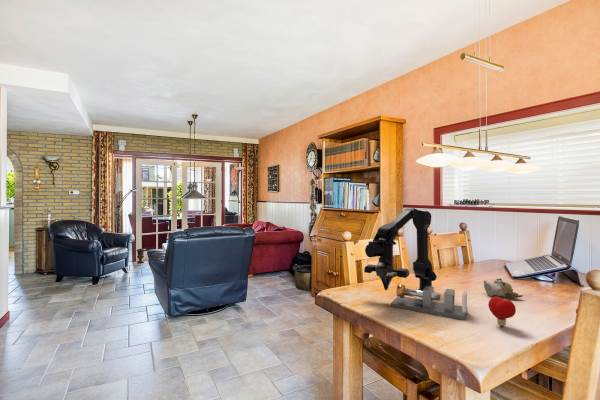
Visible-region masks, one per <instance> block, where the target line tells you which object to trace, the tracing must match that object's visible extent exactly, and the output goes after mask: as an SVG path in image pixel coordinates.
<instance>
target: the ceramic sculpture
mask: <svg viewBox="0 0 600 400" xmlns="http://www.w3.org/2000/svg"><path fill="white" fill-rule="evenodd" d="M483 288H484V290H485V293H486V295H487V296H489V297H494V296H496V297H500V298H510V299H518V298H521V297H523V296H524V295H522V294H519V293H517V292H515V291H514V289H513V287H512V285H511V284H510V283H509V282H508V281H504V280H503V279H502V278H496V279H495V280H493V281H491V282H490V281H487V280H485V279H484V280H483Z"/></svg>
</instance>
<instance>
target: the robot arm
mask: <svg viewBox="0 0 600 400" xmlns="http://www.w3.org/2000/svg"><path fill="white" fill-rule="evenodd" d="M411 220H412V223H413V225H414V227H415V229H416V254H417V255H416V260H415V261H413V262H412V266H413V267H412V270H413V273H414V276H415V277H414V278H416V279H419V280H418V281H419V283H418V284H419V287H418V289H417V290H420V291H423V289H424V288H425V287H426V286H431V287H433V284H432V283H433V282H435V281H436V280H437V273H435V271H434V269H433V263H432V262H431V261H430V259H429V244H428V242H429V239H428V234H429V233H428V228H429V227H430V226H431V223H432V214H431V213H430V211H427V210H420V209H417V208H413V207H407V208H405V209H404V210H403V211H402V212H401V213H400V214H399V215H398V216H397V217H395V218H394V219H393V220H392V221H391V222H389V223H386V224H383V225H381V226H380V227H379V228H378V229H377V232H376V234H375V236H374V238H373V239H372V240H371V241H368V244H367V245H366V246H365V248H364V251H365V255H366V256H367V257H368V258H370V259H371V258H377V257H378V262H377V263H376V264H370V263H369V264H367V265H365V267H364V269H363V270H364V271H363V272H364V273H366V274H371V273H372V272H375V273H376V274H375V275H376V276H377V277H379V278H380V280H381V283H382V285H383V288H384V290H385V291H388V290H389V287H390V284H391V281H392V279H393V278H395V277H396V276H397V277H398V278H403V279H407V278H408V277H409V276H410V270H409V269H408V268H401V267H400V268H398V269H394V245H397V242H396V241H395V239H396V238H397V236H398V234H399V231H400V230H401V229H402V228H403V227H404V226H405V225H406V224H407V223H409V221H411Z"/></svg>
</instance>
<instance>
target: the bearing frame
mask: <svg viewBox="0 0 600 400" xmlns="http://www.w3.org/2000/svg"><path fill="white" fill-rule="evenodd" d="M432 292H433V293H435V287H434V286H432V287H431V286H426V287H425V288H424V289H423V298H416V297H410V296H405V297H404V298H399V297H397V296H396V298H394V299H393V301H391V302H390V307H392V308H396V309H401V310H402V309H403V310H407V311H411V312H412V311H413V312H417V313H423V314H428V315H433V316H434V315H436V316H441V317H444V318H449V319H456V320H460V321H461V320H462V321H465V319H466V316H467V313H468V303H467V302H468V291H466V290H464V291H463V293H462V295H461V297H462V299H461V301H462V302H461V303H462V304H461V305H458V304H455V302H456V301H455V298H456V295H455V289H451V288H446V289H445V291H444V293H443V302H441V301H435V300H431V293H432Z"/></svg>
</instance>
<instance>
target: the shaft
mask: <svg viewBox="0 0 600 400" xmlns="http://www.w3.org/2000/svg"><path fill="white" fill-rule="evenodd" d="M395 291H396V298H397V297H399V298H404V297H411V298H417V299H423V291H420V290H418V289H412V288H407V287H406V285H405V284H400V283H399V284H397V286H396V290H395ZM441 298H442V294H441V293H439V292H434V293H433V292H432V293H431V300H434V301H435V302H441V301H442V300H441Z"/></svg>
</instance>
